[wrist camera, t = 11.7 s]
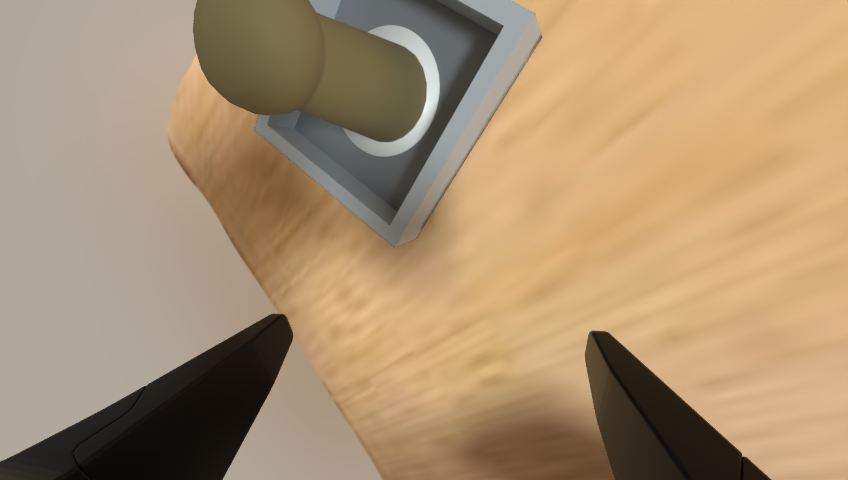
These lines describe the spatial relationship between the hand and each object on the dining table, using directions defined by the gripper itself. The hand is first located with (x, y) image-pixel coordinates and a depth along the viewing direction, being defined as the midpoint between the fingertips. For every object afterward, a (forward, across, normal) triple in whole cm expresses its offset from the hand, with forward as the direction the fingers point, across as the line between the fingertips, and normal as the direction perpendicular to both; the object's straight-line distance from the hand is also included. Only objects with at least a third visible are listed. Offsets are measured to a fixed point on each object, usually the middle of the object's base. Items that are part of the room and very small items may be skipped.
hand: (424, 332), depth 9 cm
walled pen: (+16, +5, -6) cm, 18 cm away
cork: (+16, +5, -6) cm, 17 cm away
